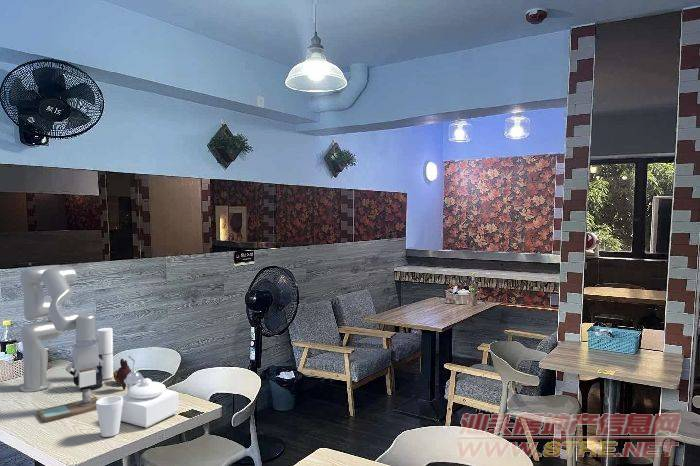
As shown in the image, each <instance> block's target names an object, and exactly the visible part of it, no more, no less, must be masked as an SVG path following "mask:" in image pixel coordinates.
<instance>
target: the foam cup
mask: <svg viewBox="0 0 700 466" xmlns="http://www.w3.org/2000/svg"><path fill="white" fill-rule="evenodd" d="M121 396H122V395H108V396H104V397H101V398H97V399H98V400H97V401H96V409H97V410H96V412H97V418H98V423H99V430H100V436H101V437H103V438H107V437H113V436H116V435H118V433H120V427H121V422H122V421H121V413H122V405H123V397H121Z"/></svg>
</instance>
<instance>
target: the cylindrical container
mask: <svg viewBox="0 0 700 466" xmlns="http://www.w3.org/2000/svg"><path fill="white" fill-rule="evenodd" d="M96 331H97V332H96V333H97V334H96V335H97V337H96V338H99V341H97V342H96V344H97V348H98V354H100V355H102V360H103V361H104V362H105V364H104V365H103V366H102V376H103V377H102V378H103V380H109V379H111V378H114V375H113V373H114V344H113V343H114V340H113V339H114V336H113V331H114V329H113V328H112V327H101V328H98V329H97V330H96Z"/></svg>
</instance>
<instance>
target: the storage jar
mask: <svg viewBox="0 0 700 466" xmlns="http://www.w3.org/2000/svg"><path fill="white" fill-rule="evenodd" d="M99 358H100V359H101V360H102V355H100V354H99ZM99 364H100V362H99ZM102 377H103V376H102V367H101V369H100V370H99V371H98V373H97V379H96V384H94V385H90V386H85V387H81V388H80V387H79V389H80V390H81V391H83V390H85V389H90V390H91V391H96V390H99V389H101V388H102V387H103V381H104V379H103V378H102Z"/></svg>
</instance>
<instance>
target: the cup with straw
mask: <svg viewBox="0 0 700 466" xmlns="http://www.w3.org/2000/svg"><path fill="white" fill-rule="evenodd" d="M127 357H128V358H129V359H130V360H131V361H132V362H133V363H132V365H133V367H132V368H133V369H132V370H133V371H131V372H130V373H129V374H128V375H127V377H126V379H124V383H126V391H127V392H126V394H128V390H129V389H130V388H131V387H132V386H134V385H136V384H139V383H141V381H142V380H143V379H145V377H144V376H143V375H142V373H141V372H139V371H136V360H135V359H134V358H133V357H132V356H131V355H128V356H127Z"/></svg>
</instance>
